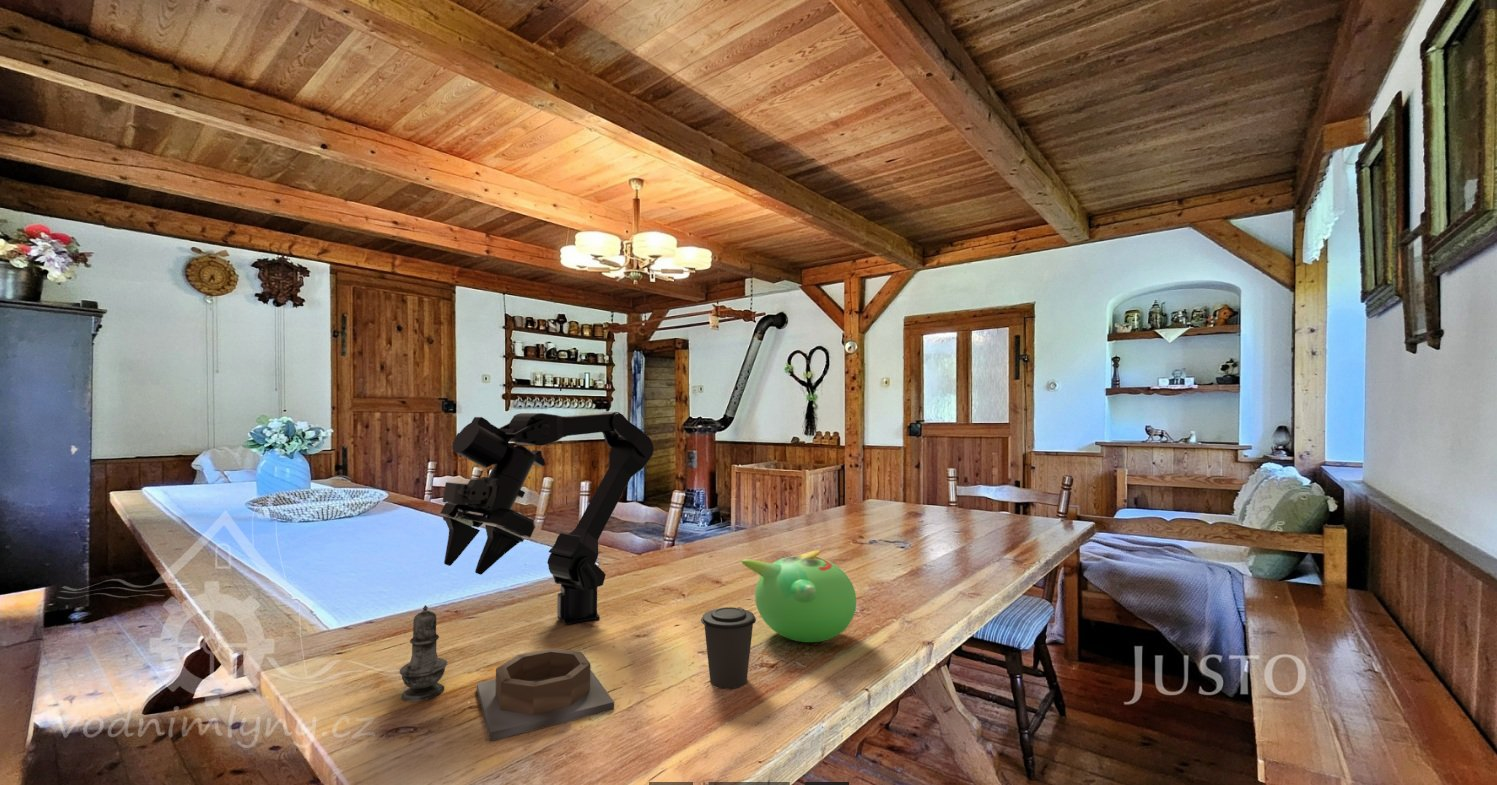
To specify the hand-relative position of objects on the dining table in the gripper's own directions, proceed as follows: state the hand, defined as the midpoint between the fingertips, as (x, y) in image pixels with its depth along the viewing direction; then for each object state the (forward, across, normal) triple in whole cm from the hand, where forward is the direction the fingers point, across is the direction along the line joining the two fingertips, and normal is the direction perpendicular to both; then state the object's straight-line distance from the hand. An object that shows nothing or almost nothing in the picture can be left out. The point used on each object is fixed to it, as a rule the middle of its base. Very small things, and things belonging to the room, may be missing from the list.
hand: (462, 569), depth 94 cm
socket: (+13, +22, +6) cm, 26 cm away
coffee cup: (+4, +40, +23) cm, 46 cm away
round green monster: (-6, +40, +41) cm, 58 cm away
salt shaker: (+17, +7, -1) cm, 18 cm away
